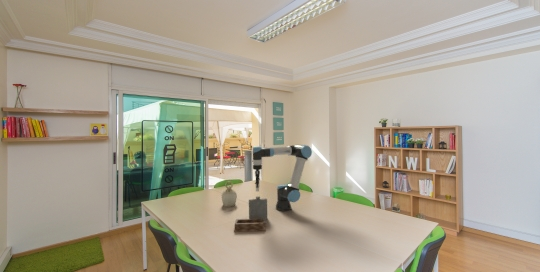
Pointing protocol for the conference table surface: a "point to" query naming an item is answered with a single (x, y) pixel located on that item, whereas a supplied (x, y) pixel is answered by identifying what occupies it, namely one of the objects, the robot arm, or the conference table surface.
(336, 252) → the conference table surface
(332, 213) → the conference table surface
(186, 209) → the conference table surface
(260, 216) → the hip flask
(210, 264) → the conference table surface
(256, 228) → the u rest
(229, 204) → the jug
